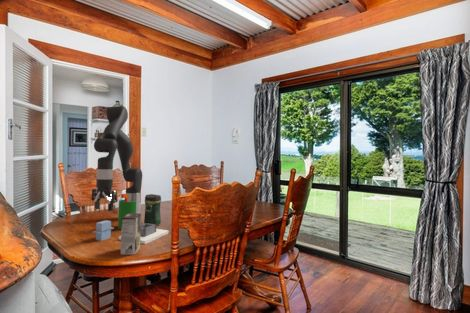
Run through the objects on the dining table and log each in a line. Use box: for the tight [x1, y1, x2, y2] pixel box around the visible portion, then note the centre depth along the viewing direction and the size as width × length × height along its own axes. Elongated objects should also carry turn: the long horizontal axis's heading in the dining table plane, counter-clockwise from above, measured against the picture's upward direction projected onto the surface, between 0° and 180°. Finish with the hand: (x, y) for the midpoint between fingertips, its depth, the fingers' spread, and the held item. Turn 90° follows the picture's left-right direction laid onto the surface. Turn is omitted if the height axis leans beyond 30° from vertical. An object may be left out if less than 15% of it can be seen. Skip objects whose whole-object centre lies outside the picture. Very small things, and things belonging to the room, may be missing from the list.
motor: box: [117, 193, 136, 230], centre depth 159 cm, size 10×9×20 cm
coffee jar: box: [143, 193, 162, 227], centre depth 168 cm, size 10×8×19 cm
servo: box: [92, 220, 115, 241], centre depth 138 cm, size 10×4×8 cm, turn 160°
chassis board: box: [118, 222, 169, 245], centre depth 144 cm, size 20×16×6 cm
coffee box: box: [120, 213, 142, 255], centre depth 123 cm, size 9×6×16 cm
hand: (103, 210), depth 138 cm, fingers open, 8 cm apart
